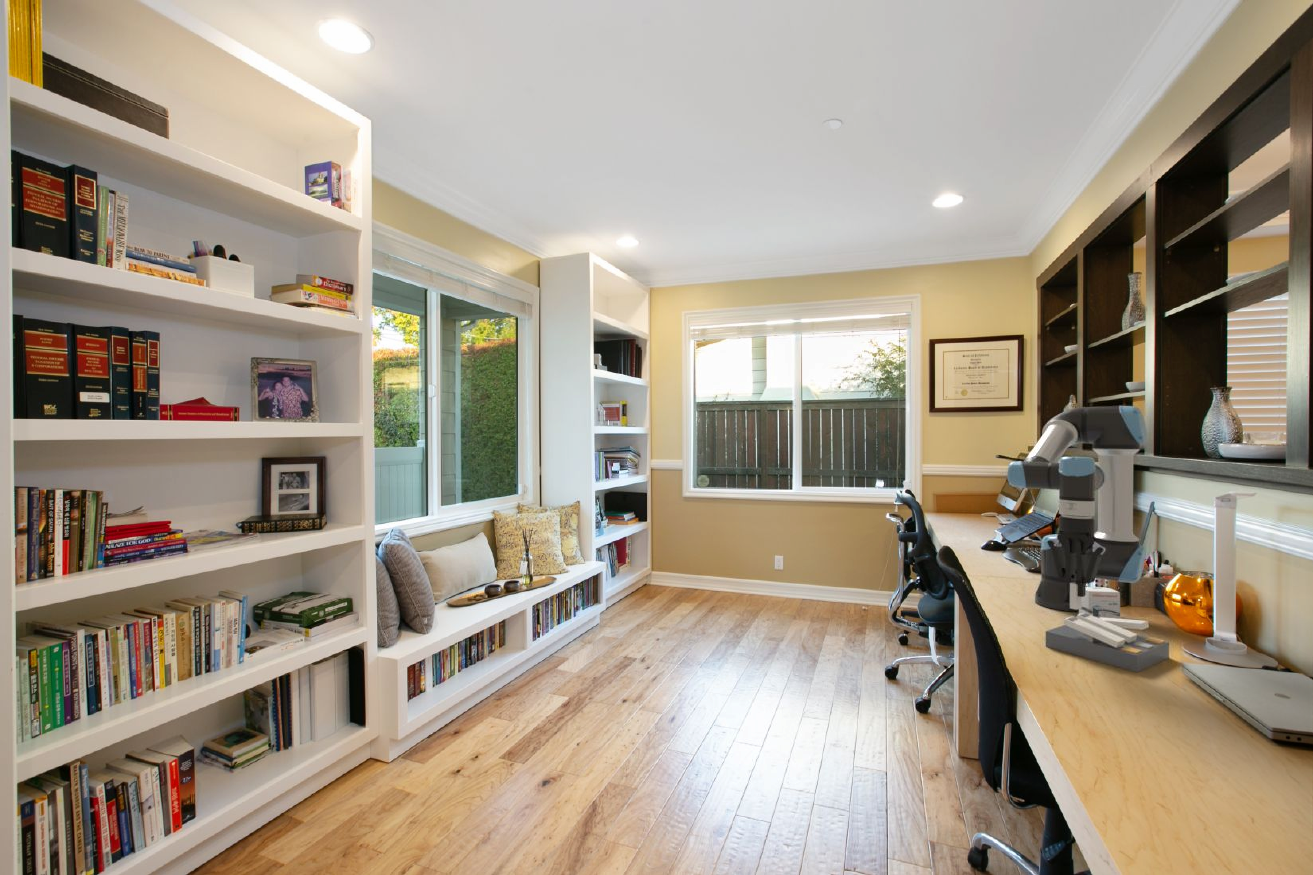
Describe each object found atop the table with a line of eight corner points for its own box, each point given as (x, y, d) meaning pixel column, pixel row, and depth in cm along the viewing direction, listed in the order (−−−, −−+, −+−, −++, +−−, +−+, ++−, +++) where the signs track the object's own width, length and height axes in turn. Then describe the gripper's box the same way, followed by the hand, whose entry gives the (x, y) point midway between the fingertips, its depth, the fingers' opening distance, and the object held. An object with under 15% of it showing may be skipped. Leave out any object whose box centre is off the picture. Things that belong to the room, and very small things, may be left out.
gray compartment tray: (1079, 634, 166) (1079, 615, 166) (1168, 657, 149) (1169, 636, 149) (1045, 646, 157) (1045, 625, 157) (1136, 672, 140) (1136, 649, 140)
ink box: (1088, 632, 168) (1088, 591, 168) (1077, 626, 173) (1077, 586, 173) (1121, 633, 167) (1121, 591, 167) (1109, 627, 172) (1109, 587, 172)
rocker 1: (1071, 621, 156) (1072, 615, 156) (1124, 644, 146) (1125, 638, 145) (1063, 623, 154) (1064, 618, 153) (1116, 647, 144) (1118, 641, 143)
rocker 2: (1083, 617, 159) (1084, 611, 159) (1135, 639, 149) (1137, 633, 149) (1075, 619, 157) (1077, 614, 157) (1128, 642, 147) (1130, 636, 147)
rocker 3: (1095, 622, 162) (1094, 616, 162) (1148, 626, 152) (1147, 620, 152) (1088, 624, 160) (1087, 618, 160) (1142, 629, 150) (1140, 622, 150)
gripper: (1041, 514, 157) (1040, 603, 156) (1098, 520, 145) (1097, 616, 145) (1056, 512, 160) (1055, 600, 160) (1112, 518, 149) (1112, 612, 149)
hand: (1075, 608), depth 153 cm, fingers closed
